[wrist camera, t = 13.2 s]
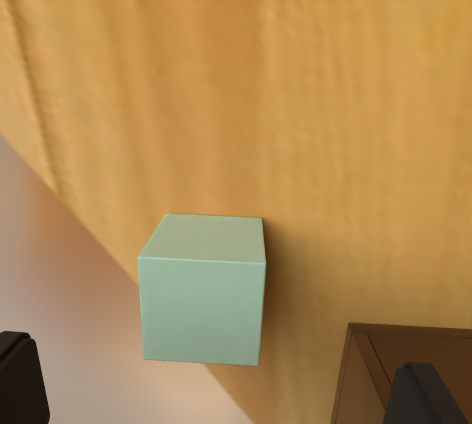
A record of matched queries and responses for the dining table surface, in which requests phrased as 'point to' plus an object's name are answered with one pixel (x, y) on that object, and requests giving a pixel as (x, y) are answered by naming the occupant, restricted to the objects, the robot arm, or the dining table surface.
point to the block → (203, 289)
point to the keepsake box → (389, 359)
